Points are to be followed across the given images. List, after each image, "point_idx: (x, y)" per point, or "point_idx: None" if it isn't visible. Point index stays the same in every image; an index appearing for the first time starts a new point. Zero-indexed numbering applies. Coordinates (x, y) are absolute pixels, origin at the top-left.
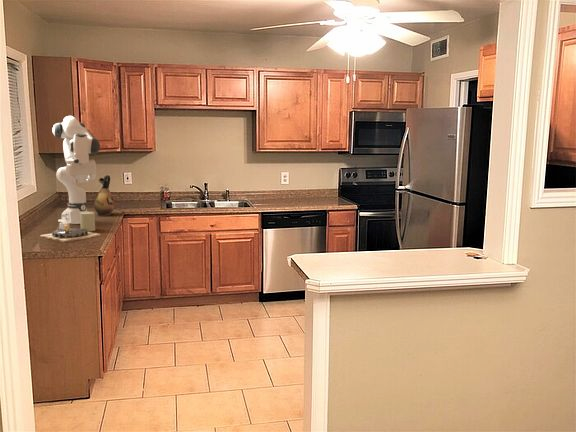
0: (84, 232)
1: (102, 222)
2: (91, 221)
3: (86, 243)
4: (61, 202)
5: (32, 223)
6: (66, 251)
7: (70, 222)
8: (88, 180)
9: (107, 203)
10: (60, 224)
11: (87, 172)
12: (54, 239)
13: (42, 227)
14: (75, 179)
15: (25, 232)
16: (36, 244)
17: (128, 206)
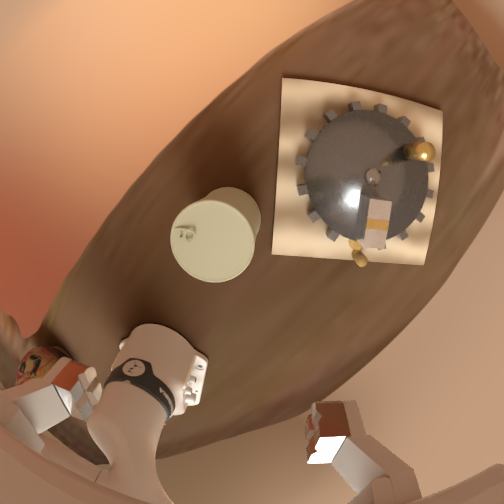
0: (356, 101)
1: (105, 291)
2: (224, 194)
3: (404, 41)
4: (100, 463)
5: (265, 423)
6: (481, 44)
7: (196, 356)
8: (84, 367)
9: (40, 363)
10: (384, 238)
11: (22, 478)
12: (437, 174)
13: (294, 376)
14: (365, 436)
15: (380, 351)
16: (488, 177)
17: (12, 365)
